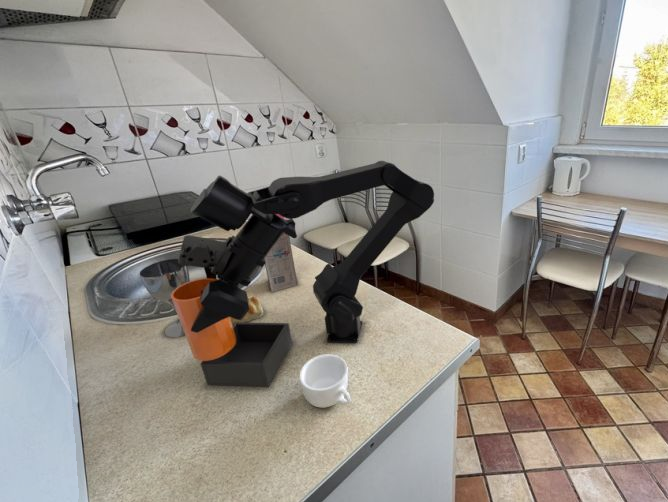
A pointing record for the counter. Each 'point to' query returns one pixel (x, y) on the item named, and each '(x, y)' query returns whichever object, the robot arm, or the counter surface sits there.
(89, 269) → the counter surface
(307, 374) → the teacup
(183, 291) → the orange cup
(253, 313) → the pastry
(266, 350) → the basket
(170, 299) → the wine glass
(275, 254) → the juice carton
